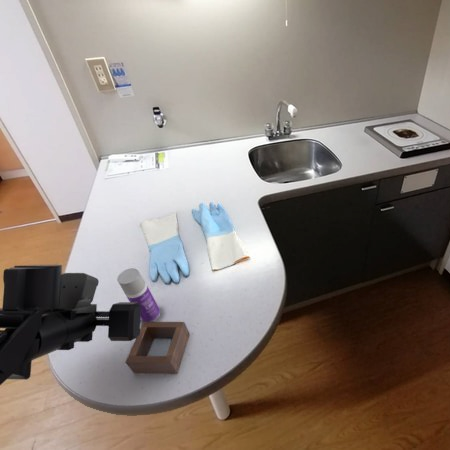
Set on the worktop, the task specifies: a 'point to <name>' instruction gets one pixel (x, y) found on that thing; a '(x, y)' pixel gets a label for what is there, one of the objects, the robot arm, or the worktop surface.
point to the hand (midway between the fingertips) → (113, 311)
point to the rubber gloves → (173, 247)
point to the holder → (143, 342)
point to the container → (139, 294)
